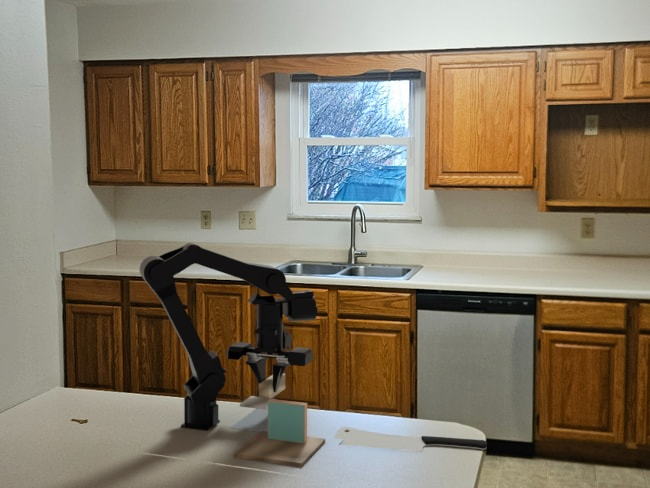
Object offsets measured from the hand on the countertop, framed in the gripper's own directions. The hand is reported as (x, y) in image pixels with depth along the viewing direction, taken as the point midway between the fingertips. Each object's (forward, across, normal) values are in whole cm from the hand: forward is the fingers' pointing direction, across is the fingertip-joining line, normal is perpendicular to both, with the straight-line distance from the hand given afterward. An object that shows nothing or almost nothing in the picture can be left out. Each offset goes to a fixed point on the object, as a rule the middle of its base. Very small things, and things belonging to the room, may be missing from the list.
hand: (269, 391), depth 175 cm
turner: (+1, 0, +1) cm, 2 cm away
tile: (+1, -10, +14) cm, 18 cm away
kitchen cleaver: (+7, -33, +6) cm, 34 cm away
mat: (+6, 0, +2) cm, 6 cm away
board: (+6, -10, +18) cm, 21 cm away
